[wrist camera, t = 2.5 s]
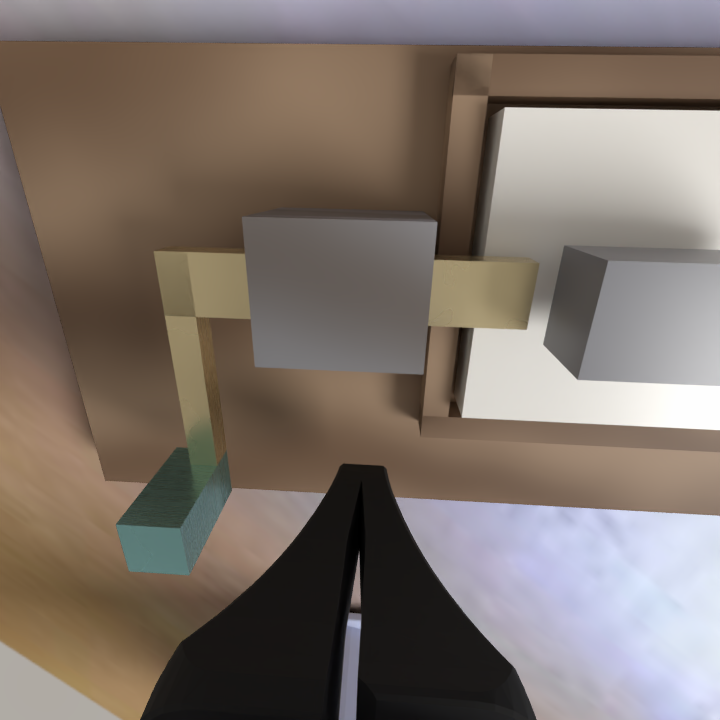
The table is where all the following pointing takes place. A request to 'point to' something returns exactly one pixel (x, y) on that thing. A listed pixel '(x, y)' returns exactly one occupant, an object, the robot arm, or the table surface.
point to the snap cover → (602, 268)
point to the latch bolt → (201, 391)
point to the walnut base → (320, 148)
